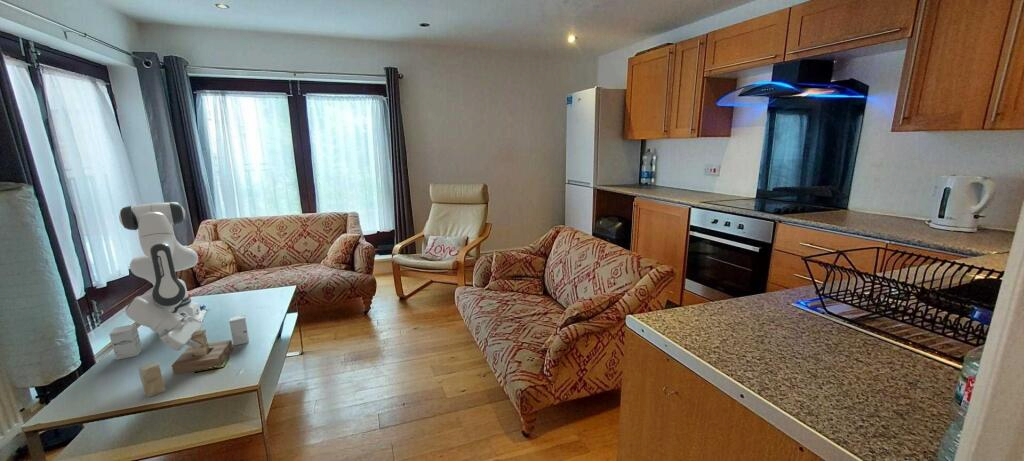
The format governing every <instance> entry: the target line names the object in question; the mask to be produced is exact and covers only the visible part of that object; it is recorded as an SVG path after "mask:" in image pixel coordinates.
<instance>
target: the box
mask: <svg viewBox="0 0 1024 461" xmlns="http://www.w3.org/2000/svg"><path fill="white" fill-rule="evenodd" d="M137 370H138V372H139V376H140V381H141V386H142V389H143V393H144V395H145V396H146V397H148V398H151V397H153V396H155V395H158V394H160V393H162V392H165V391H166V388H165V384H164V380H163V375H162V370H161V366H160V364H159V363H158V362H157V361H153V362H149V363H147V364H144V365H142V366H139V367H138V368H137Z"/></svg>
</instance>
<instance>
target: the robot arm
mask: <svg viewBox="0 0 1024 461" xmlns="http://www.w3.org/2000/svg"><path fill="white" fill-rule="evenodd" d="M118 215H119V216H118V219H119V220H118V221H119V222H120V224H121V225H122V227H123V228H125V229H126V230H130V231H137V230H138V237H139V244H140V247H141V250H142V252H143V254H141V255H137V256H136V257H133V258H132V259H131V261H130V264H129V269H130V272H131V273H132V274H133V275H135V276H136V277H137V278H138V277H139V278H141V279H145V280H146V281H148V282H149V283H151V284H152V285H153V289H152V291H151V292H149V293H146V294H143V295H138V296H135V297H134V298H133V299H132V300H131V301H130V302H129V303H128V305H127V306H126V309H125V315H126V316H127V317H128V318H130V320H131V321H134V322H135V323H136V324H139V325H141V326H142V327H146V328H149V329H150V330H151V331H152V332H155V334H158V337H159V339H160V341H162V343H163V344H165V345H166V346H167V347H169V348H170V349H173V350H174V351H177V352H178V351H179V352H180V351H181V349H183V348H184V347H185V345H186V346H188V347H189V346H193V347H196V348H199V347H200V346H201V345H202V343H200V342H194V341H193V340H192V339H191V338H192V336H191V335H192V334H193V333H194V332H195V331H197V330H202V328H203V326H204V323H203V320H204V318H205V317H206V314H207V310H205V309H201V307H200V304H199V303H197V302H195V301H192V299H191V298H192V296H193V294H192V293H191V292H190V293H188V291H187V290H188V289H187V285H186V283H185V281H184V280H183V279H180V278H178V277H177V274H176V272H180V271H184V270H188V269H191V268H193V267H195V266H197V265H198V262H199V255H198V254H197V251H195V249H194V248H191V247H188V246H184V245H183V244H181V243H180V242H179V241H178V240H177V238H176V235H175V232H174V228H173V227H174V226H177V225H180V224H182V223H184V221H185V218H186V210H185V208H184V207H183V206H182V204H181V203H179V202H176V201H169V202H151V203H144V204H137V205H133V206H132V205H127V206H125V207H122V208H121V209H120V212H119V214H118ZM173 225H174V226H173ZM201 310H202V311H201Z"/></svg>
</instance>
